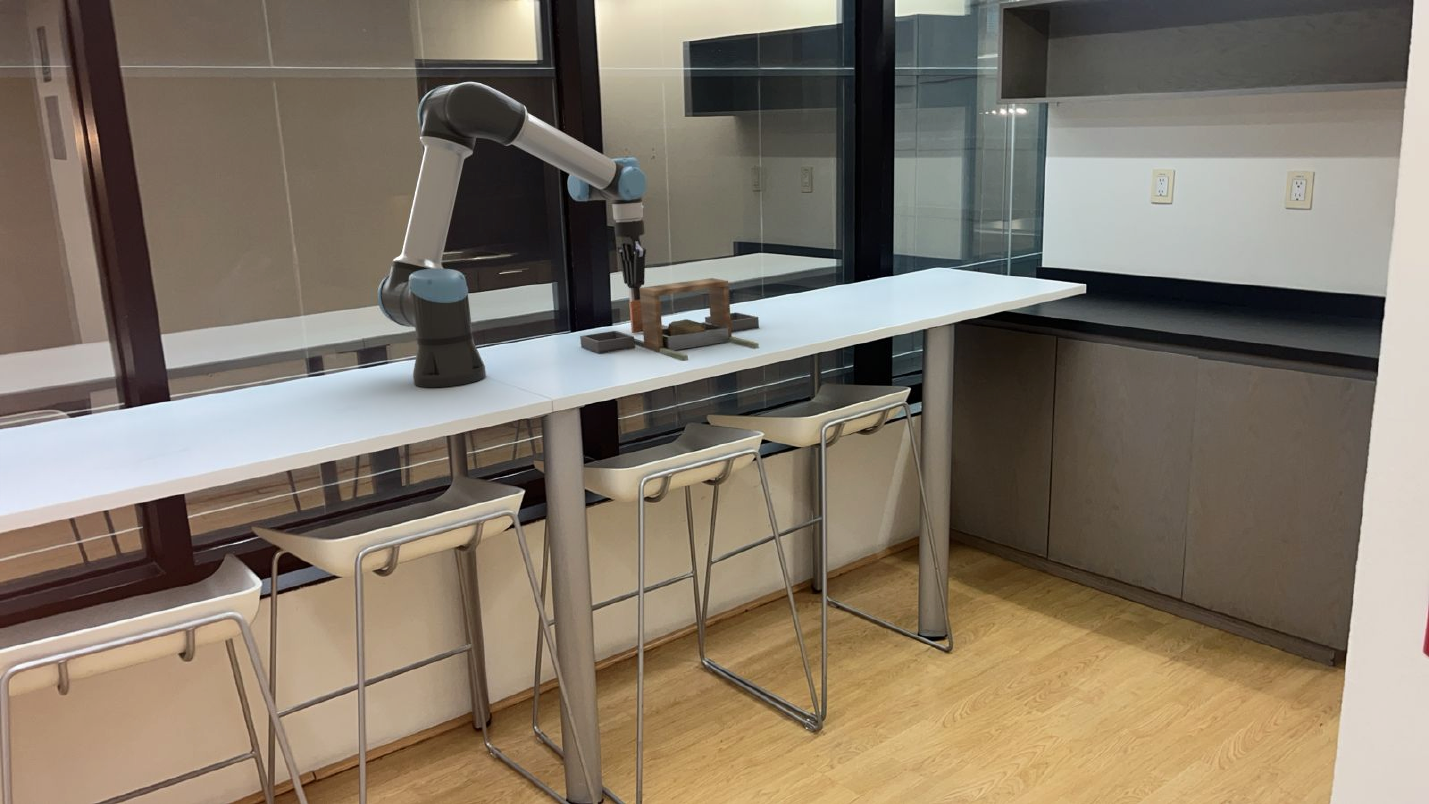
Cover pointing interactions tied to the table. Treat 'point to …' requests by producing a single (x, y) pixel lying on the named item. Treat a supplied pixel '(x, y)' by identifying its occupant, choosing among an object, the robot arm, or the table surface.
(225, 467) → the table surface
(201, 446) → the table surface
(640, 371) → the table surface
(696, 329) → the stone block
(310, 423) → the table surface
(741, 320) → the pit tray far
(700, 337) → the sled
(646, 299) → the tunnel
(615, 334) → the tray
